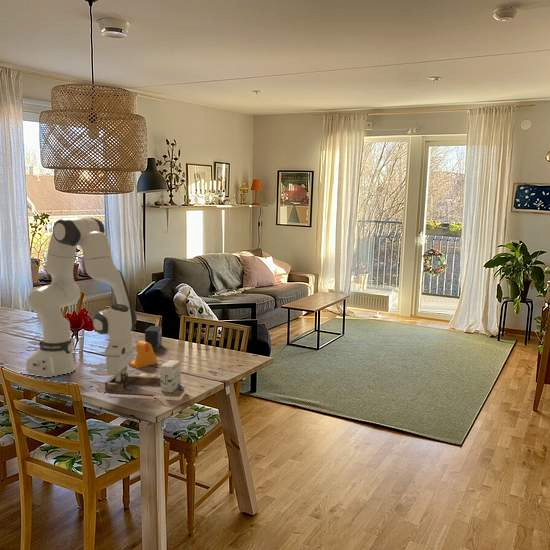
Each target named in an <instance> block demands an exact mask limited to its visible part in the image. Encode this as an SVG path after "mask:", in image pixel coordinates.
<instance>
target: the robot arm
mask: <svg viewBox="0 0 550 550" xmlns="http://www.w3.org/2000/svg"><path fill="white" fill-rule="evenodd" d="M105 231H106V229H105V225H104V224H103V222H102V221H101V220H100V219H98V218H94V217H83V216H82V217H81V216H78V217H70V218H69V217H68V218H67V217H65V218H61V219H58V220H56V221H55V222H54V225H53V226H52V233H51V237H50V240H49V243H48V247H47V253H46V261H45V271H46V272H47V274H48V275H50V277H51V282H50V284H46V285H43V286H39V287H37V288H35V289H34V290H31V291H30V292H29V294H28V296H27V303H28V304H27V305H28V306H29V308H30V309H31V311H34V312H35V313H36V314H37V316H38V318H39V319H40V321H41V326H42V340H41V341H39V343H37V347H39V349H38V350H36V351H34V353H32V354H31V355H30V356H28V357H27V359H26V364H25V367H26V370H25V371H24V373H25V372H26V371H28V372H27V373H29V374H34V375H39V376H46V377H51V378H53V377H52V376H55V377H58V376H57V375H61V376H63V375H62V374H66V375H68V374H67V373H69V374H72V373H73V371H74V370H75V368H76V366H75V364H74V360H73V354H72V353H73V343H72V342H73V341H72V338H71V323H70V321H69V319H67V318H66V317H64V316H63V314H62V308H65V307H70V306H72V305H73V304H75V303H76V302H79V300H80V298H81V293H82V292H81V289H80V286H79V285H78V284H77V283H76V282H75V278H74V266H75V259H76V252H77V251H76V250H77V248H78V246H79V247H80V248H81V251H82V257H83V265H84V269H85V273H86V274H87V275H88V276H89V277H90V278H91V279H93V280H95V281H97V282H101V283H104V284H106V285H108V286H110V287H111V288H112V290H113V292H114V293H113V294H114V296H115V299H116V304H112V305H110V306H109V307H108V308H106V309H104V310H100V311H98V312H95V314H94V315H93V318H92V329H93V330H94V331H95V332H96V333H97V334H99V335H108V336H109V337H108V343H107V346H106V347H105V350H104V355H105V356H106V357H105V358H106V359H105V363H106V364H105V365H106V366H105V367H106V373H107V375H109V376H113V375H115V376H116V381H121V380H122V376H121V375H120V373H121V370H123V369H124V370H125V373H127V371H128V366H129V363H131V362H132V361H133V360H134V355H135V354H134V346H133V336H132V332H131V331H132V330H133V329H134V327H135V326H136V324H137V320H138V317H137V313H136V311H135V308H134V306H133V305H132V302H131V298H130V295H129V294H130V293H129V291H128V288H127V284H126V281H125V278H124V275H123V273H122V271H121V270H119V269H118V268H117V267H116V265H115V263H114V259H113V255H112V250H111V246H110V242H109V240H108V239H109V238H108V237H107V234H105V233H106V232H105ZM75 371H76V370H75ZM75 371H74V372H75ZM21 372H23V371H21V370H20V373H21ZM71 372H72V373H71Z"/></svg>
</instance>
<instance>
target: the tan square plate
mask: <svg viewBox="0 0 550 550" xmlns="http://www.w3.org/2000/svg"><path fill="white" fill-rule="evenodd" d="M137 376H151V377H156V376H157V373H147V372H146V373H139V375H137Z"/></svg>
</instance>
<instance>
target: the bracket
mask: <svg viewBox="0 0 550 550" xmlns="http://www.w3.org/2000/svg"><path fill="white" fill-rule="evenodd" d="M135 350H136V352H137V353H136V357H135V359H133V361H132V362H131V363H129V364H128V366H130V367H132V368H136V369H140V368H143V367H144V368H145V367H147V366H151V365H154V364H157V363H158V360H157V357H156V354H155V351H153V348H152V345H151V344H150V343H148V342H145V340H139V341H138V342H136V344H135Z"/></svg>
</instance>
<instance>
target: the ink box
mask: <svg viewBox="0 0 550 550" xmlns="http://www.w3.org/2000/svg"><path fill="white" fill-rule="evenodd" d="M159 367H160V377H161V385H160V392H165V393H167V392H168V393H172V392H174V391H175V390H176V389H178V388H179V387H181V360H176V359H175V360H174V359H173V360H172V359H169V360H168V361H166V362H164V363H163V364H161V365H160V366H159Z"/></svg>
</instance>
